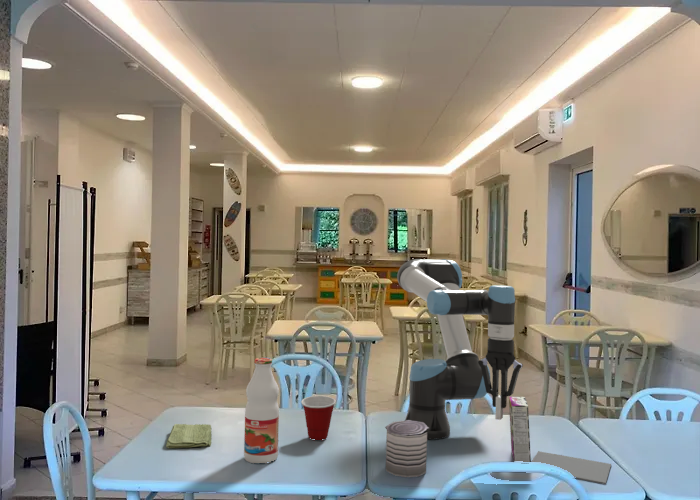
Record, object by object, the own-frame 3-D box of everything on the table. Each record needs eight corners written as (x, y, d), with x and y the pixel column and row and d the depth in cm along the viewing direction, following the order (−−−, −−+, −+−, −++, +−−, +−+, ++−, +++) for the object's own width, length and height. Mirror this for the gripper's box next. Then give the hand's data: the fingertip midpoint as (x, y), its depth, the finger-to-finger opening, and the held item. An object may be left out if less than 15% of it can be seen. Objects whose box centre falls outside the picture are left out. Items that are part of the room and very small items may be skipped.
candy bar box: (510, 451, 181) (508, 396, 181) (527, 451, 180) (525, 396, 180) (512, 463, 170) (510, 405, 170) (531, 464, 169) (529, 405, 169)
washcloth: (164, 451, 174) (164, 440, 174) (171, 432, 192) (171, 422, 192) (211, 449, 177) (211, 438, 177) (213, 431, 194) (214, 421, 194)
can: (433, 475, 160) (434, 430, 160) (393, 479, 156) (394, 433, 156) (416, 460, 171) (417, 418, 171) (378, 463, 167) (380, 420, 167)
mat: (527, 469, 166) (527, 467, 166) (538, 452, 180) (538, 451, 180) (605, 484, 156) (605, 482, 156) (611, 465, 171) (611, 463, 171)
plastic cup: (294, 440, 185) (295, 401, 185) (309, 431, 195) (310, 394, 195) (326, 445, 181) (327, 406, 181) (340, 435, 191) (341, 398, 191)
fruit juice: (283, 455, 172) (286, 357, 172) (267, 466, 163) (269, 363, 163) (254, 451, 175) (257, 354, 175) (237, 461, 166) (239, 360, 166)
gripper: (475, 337, 177) (473, 418, 177) (520, 341, 171) (518, 424, 171) (482, 334, 184) (481, 412, 184) (526, 338, 178) (524, 418, 177)
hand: (499, 418), depth 177 cm, fingers closed
